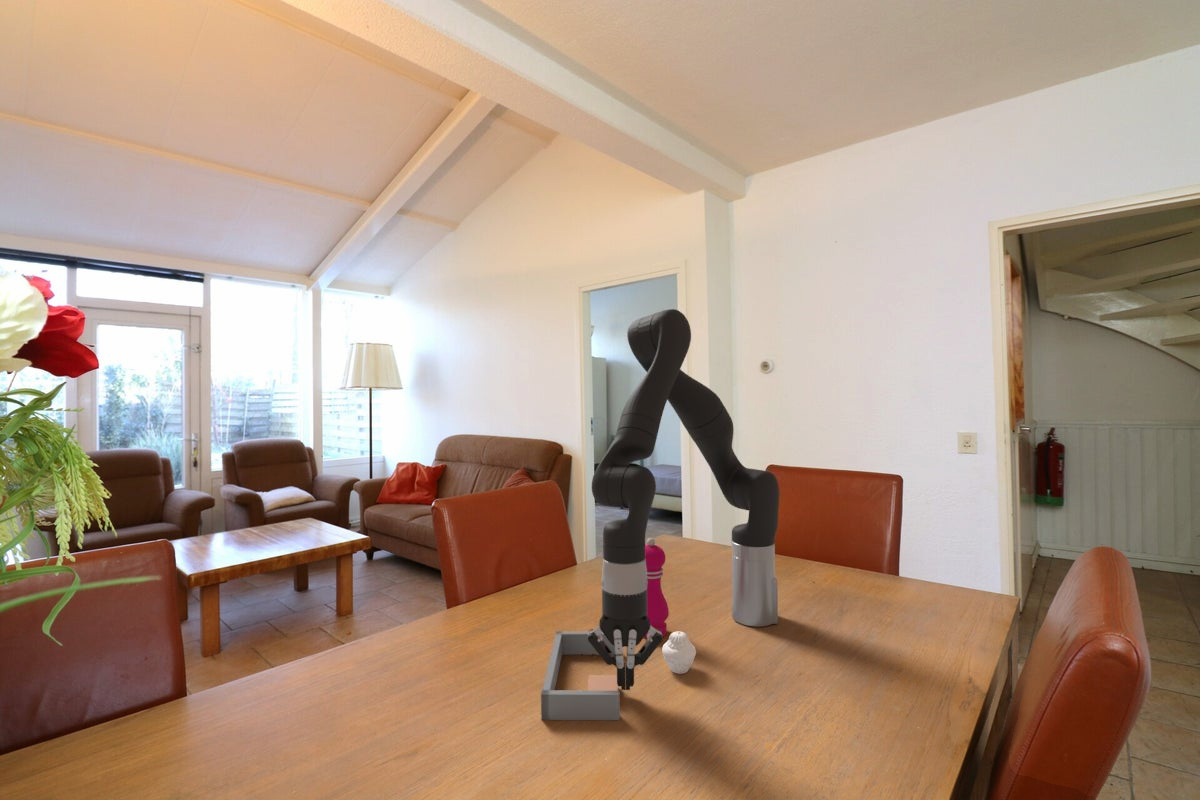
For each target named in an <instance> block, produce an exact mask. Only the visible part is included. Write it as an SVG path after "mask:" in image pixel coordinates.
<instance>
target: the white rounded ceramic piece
mask: <svg viewBox="0 0 1200 800" xmlns="http://www.w3.org/2000/svg"><path fill="white" fill-rule="evenodd" d="M661 652H662V655H663V658H664V660H665V663H666V664H667V666H668V668H669V670H670V671H671V672H673V673H674V674H678V675H679V674H680V675H681V674H686V673H687V672H689V669H690V668H691V666H692V664H693V662H694V661H695V656H696V654H697V649H696V647H695V646H694V644H692V642H691V640H690V638H689V635H688V634H687V633H685V632H683V631H679V630H678V631H674V632H671V633H670V635H669V636H668V639H667V641H666V642H665V643H664V644H663V646H662V649H661Z"/></svg>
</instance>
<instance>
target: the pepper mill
mask: <svg viewBox="0 0 1200 800" xmlns="http://www.w3.org/2000/svg"><path fill="white" fill-rule="evenodd" d="M645 560H646V568H647V581H648V584H647V616H648V618H649V620H650V625H651V626H652V627H653V628H655V629H660V630H661V633H662V638H663V637H665V636H666V635H667V628H668V627H667V622H666V621H667V619H668V618H669V615H670V612H669V605H668V602H667V600H666V598H665V596H664V594H663V590H662V581H661V580H662V577H663V576H664V569H663V566H664V564H665V562H666V554H665V551H664V550H663V548H662V547H661V546H659V545H657V544H656V540H655V538H653V537H648V539H647V540H646V544H645ZM647 635H648V632H647V634H646V635H645V636H644V638H645V639H647Z"/></svg>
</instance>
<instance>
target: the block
mask: <svg viewBox="0 0 1200 800" xmlns="http://www.w3.org/2000/svg"><path fill="white" fill-rule="evenodd" d="M587 690H600V691H619V686H618V684H617V674H615V675H614V674H613V675H612V674H609V675H608V674H601V675H600V674H588V681H587Z"/></svg>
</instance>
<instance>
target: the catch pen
mask: <svg viewBox="0 0 1200 800" xmlns="http://www.w3.org/2000/svg"><path fill="white" fill-rule="evenodd" d="M588 632H589V630H588V631H584V630H583V631H577V630H576V631H574V630H573V631H572V630H571V631H567V630H566V631H563V630H562V631H559V630H558V631H555V636H554V639H553V644H552V648H551V652H550V657H549V660H548V665H547V668H546V672H545V677H544V680H543V685H542V688H541V694H540V701H541V702H540V703H541V704H540V706H541V707H540V711H541V712H540V715H541V716H540V717H541V719H540V720H542V721H543V720H544V721H545V720H546V721H553V720H554V721H621V720H620V719H621V718H620V717H621V714H620V713H621V712H620V709H621V707H620V704H621V703H620V702H621V701H620V694H621V693H620V690H618V691H600V690H588V689H587V690H585V689H584V690H581V689H579V690H576V689H575V690H574V689H573V690H571V689H570V690H569V689H565V690H563V689H562V690H561V689H558V690H556V687H557V681H558V678H559V677H558V676H559V671H560V666H561V662H562V657H563V655H565V656H566V655H567V656H575V655H579V656H580V655H581V654H583V655H585V656H586V655H589V656H590V655H591V656H592V654H594V655H597V656H600V655H599V654H598V652H597V651H596V650H595V648H594V647H593V646H592V645H591V643H590V642H589V641H588ZM602 635H603V639H602V640H603V641H604V642H605V644H606V645H607V646H608V648H609V649H610V650H611V651H612V653H614V654H615V646H614V645H612V644H611V643H610V642H609V640H608V639H607V637H606V636H605V635H604V633H603V632H602ZM583 655H582V656H583Z"/></svg>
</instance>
